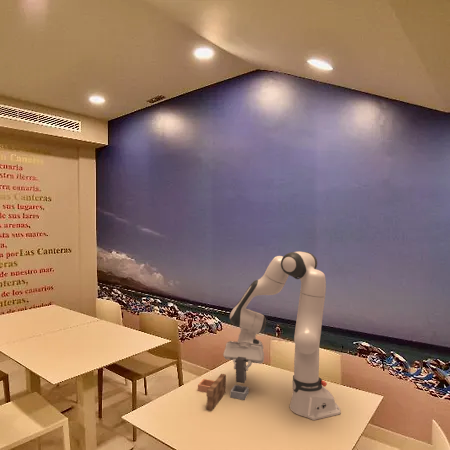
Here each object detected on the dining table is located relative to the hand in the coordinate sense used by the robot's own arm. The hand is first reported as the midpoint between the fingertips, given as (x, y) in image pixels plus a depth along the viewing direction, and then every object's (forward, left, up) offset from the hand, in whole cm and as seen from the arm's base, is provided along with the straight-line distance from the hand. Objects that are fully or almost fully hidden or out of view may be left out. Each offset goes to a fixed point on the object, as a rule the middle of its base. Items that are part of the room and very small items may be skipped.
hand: (240, 369), depth 170 cm
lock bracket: (+15, -9, -13) cm, 22 cm away
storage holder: (0, -1, -13) cm, 13 cm away
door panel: (+12, +3, -13) cm, 18 cm away
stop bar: (0, 0, -6) cm, 6 cm away
